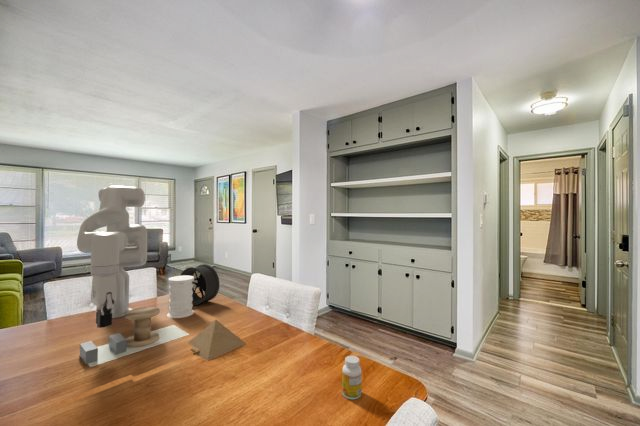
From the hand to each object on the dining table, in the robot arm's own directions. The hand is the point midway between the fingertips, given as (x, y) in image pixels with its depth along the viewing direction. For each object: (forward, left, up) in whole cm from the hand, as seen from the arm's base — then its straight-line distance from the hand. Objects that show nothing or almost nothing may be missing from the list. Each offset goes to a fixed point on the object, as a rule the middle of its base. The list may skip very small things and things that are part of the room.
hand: (103, 323), depth 95 cm
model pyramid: (+20, +29, -12) cm, 37 cm away
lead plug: (0, 0, -1) cm, 1 cm away
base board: (0, +11, -11) cm, 15 cm away
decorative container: (-18, +34, -12) cm, 40 cm away
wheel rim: (-30, +49, -12) cm, 59 cm away
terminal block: (0, 0, -10) cm, 10 cm away
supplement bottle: (+74, +39, -12) cm, 84 cm away
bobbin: (-1, +12, -10) cm, 16 cm away
